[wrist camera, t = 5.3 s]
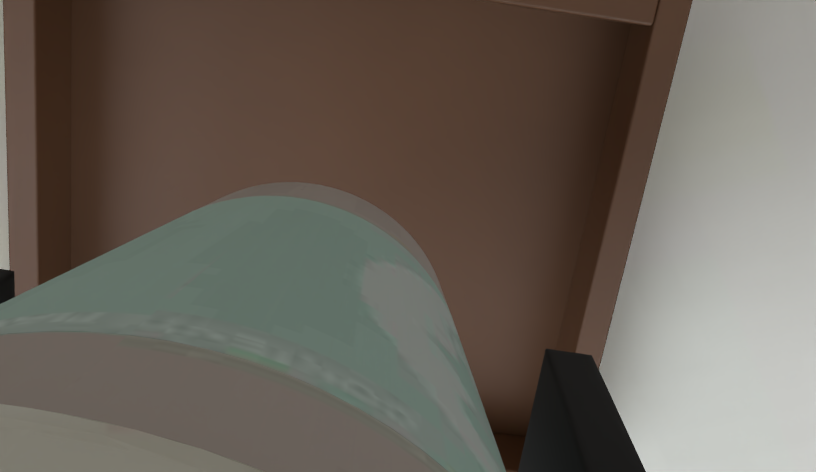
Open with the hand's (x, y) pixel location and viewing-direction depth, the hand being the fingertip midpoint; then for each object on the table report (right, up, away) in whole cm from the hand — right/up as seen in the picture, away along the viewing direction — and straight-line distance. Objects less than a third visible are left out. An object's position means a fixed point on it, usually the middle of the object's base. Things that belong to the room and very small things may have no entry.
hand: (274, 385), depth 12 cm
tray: (0, +3, +10) cm, 10 cm away
